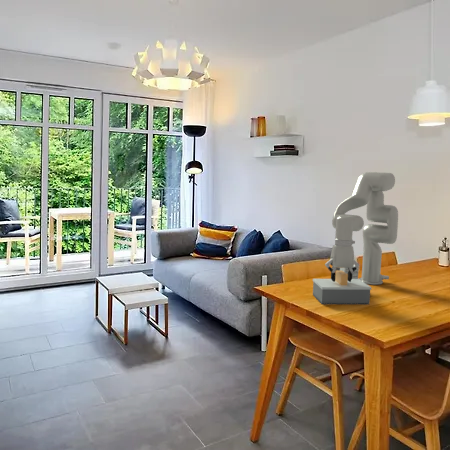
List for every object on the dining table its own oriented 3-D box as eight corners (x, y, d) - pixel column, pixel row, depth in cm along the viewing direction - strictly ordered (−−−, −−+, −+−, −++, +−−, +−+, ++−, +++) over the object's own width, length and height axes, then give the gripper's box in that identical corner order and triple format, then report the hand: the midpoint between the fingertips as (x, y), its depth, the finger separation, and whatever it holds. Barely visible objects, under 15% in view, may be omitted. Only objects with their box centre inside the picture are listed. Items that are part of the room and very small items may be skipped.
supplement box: (338, 287, 230) (339, 263, 229) (352, 287, 231) (353, 263, 229) (343, 291, 223) (344, 266, 221) (357, 291, 223) (359, 266, 222)
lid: (358, 282, 216) (359, 268, 215) (371, 291, 201) (372, 276, 200) (312, 282, 214) (313, 268, 213) (321, 291, 199) (322, 276, 198)
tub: (357, 295, 216) (358, 281, 216) (369, 304, 202) (370, 289, 201) (312, 295, 215) (313, 280, 214) (321, 304, 200) (322, 289, 199)
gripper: (358, 242, 209) (356, 279, 211) (322, 241, 208) (320, 278, 210) (364, 244, 202) (362, 283, 204) (327, 244, 201) (325, 283, 203)
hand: (341, 280), depth 207 cm, fingers open, 6 cm apart
